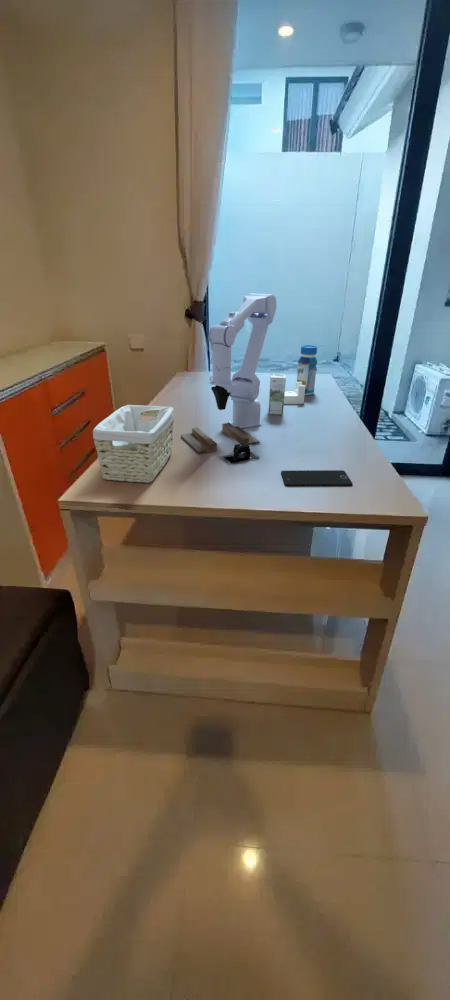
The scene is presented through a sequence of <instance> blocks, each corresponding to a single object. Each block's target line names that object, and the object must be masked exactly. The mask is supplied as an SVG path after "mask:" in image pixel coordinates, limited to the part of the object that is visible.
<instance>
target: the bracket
mask: <svg viewBox="0 0 450 1000" xmlns="http://www.w3.org/2000/svg"><path fill="white" fill-rule="evenodd" d="M294 387H295V388H294V391H293V390H292V391H291V390H290V391H286V390H285V395H284V404H285V405H294V404H295V405H296V404H297V405H302V404H304V403H305V402H304V401H305V396H306V395H305V386H302V382H297V381H295V384H294Z"/></svg>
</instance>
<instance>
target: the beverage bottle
mask: <svg viewBox="0 0 450 1000" xmlns="http://www.w3.org/2000/svg"><path fill="white" fill-rule="evenodd" d="M317 351H318V346H316V345H313V344H304V345H301V347H300V355H301V356H300V358H299V359H298V362H297V365H298V366H297V367H296V371H297V375H296V382H302V386H305V395H304V396H311V395H313V394H314V393H315V383H316V377H317V371H318V367H317V365H318V359H317V358H316V355H317V354H318V353H317Z"/></svg>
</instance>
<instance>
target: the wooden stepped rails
mask: <svg viewBox="0 0 450 1000" xmlns="http://www.w3.org/2000/svg"><path fill="white" fill-rule="evenodd" d="M221 425H222V426H221V427H222V428H221V431H222V432H223V433H225V434H226V435H227V436H229V437H230V439H231V438H232V440H234V441H236V442H237V444H240V445H241V443H246V444H247V445H249V446H253V445H254V446H255V445H259V444H260V443H261V442H260V440H258V439H257V437H254V436H253V435H251V434H250V433H249V432H248V431H245V429H244V428H240V427H238V426H236V427H234V426H233V425H231V424H230V423H228V422H226V423H225V422H224V423H222V424H221ZM180 437H181V438H182V440H184V441H185V443H186V444H188V445H189V446H190V447H191V448H192V449H193V450H194V451H195V452H196V453H197V454H198V455H201V454H207V453H212V452H214V453H215V452H217V451H218V444H217V442H216V441H215V440H214V439H212V438H211V437H210V436H208V435H207V433H205V432H203V430H201V429H200V428H199V427H192V428H191V432H190V433H183V434H180Z"/></svg>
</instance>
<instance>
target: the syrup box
mask: <svg viewBox="0 0 450 1000" xmlns="http://www.w3.org/2000/svg"><path fill="white" fill-rule="evenodd" d="M269 377H270V378H269V393H268V395H269V397H268V408H267V409H268V410H267V411H268V412H267V413H268V415H271V416H274V415H275V416H277V415H278V416H284V408H285V405H284V395H285V391H286V381H287V379H286V378H287V377H286V374H285V373H270V375H269Z"/></svg>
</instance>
